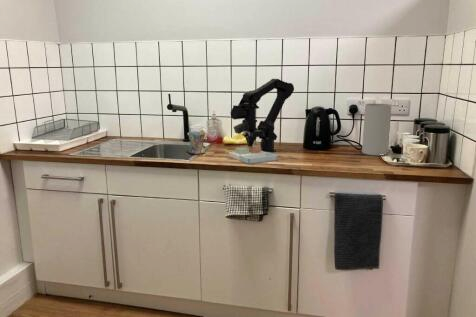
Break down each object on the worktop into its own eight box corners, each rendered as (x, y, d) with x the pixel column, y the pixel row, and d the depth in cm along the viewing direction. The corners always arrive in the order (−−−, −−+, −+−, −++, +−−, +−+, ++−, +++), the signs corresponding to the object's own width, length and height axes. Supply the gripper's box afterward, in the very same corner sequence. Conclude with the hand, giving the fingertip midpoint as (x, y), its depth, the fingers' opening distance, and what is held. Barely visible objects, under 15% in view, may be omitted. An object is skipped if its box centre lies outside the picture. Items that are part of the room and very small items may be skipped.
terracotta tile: (256, 150, 205) (256, 145, 204) (261, 152, 200) (261, 147, 200) (247, 151, 202) (247, 146, 202) (252, 153, 198) (252, 148, 198)
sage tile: (244, 151, 201) (244, 146, 201) (248, 153, 197) (248, 148, 197) (235, 152, 199) (235, 147, 199) (240, 154, 195) (240, 149, 194)
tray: (267, 156, 199) (267, 151, 199) (277, 160, 191) (277, 155, 191) (239, 160, 192) (239, 155, 191) (248, 164, 184) (248, 159, 184)
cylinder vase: (376, 157, 198) (380, 106, 192) (356, 152, 208) (359, 104, 202) (392, 154, 204) (396, 105, 198) (372, 149, 214) (376, 103, 209)
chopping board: (256, 152, 209) (256, 148, 208) (267, 156, 199) (267, 152, 199) (229, 155, 201) (229, 152, 201) (239, 160, 192) (239, 156, 191)
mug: (191, 150, 213) (190, 131, 211) (208, 151, 212) (207, 131, 209) (183, 155, 202) (183, 135, 200) (201, 156, 200) (200, 135, 198)
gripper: (227, 116, 206) (227, 146, 209) (244, 121, 190) (244, 153, 193) (246, 115, 211) (246, 144, 214) (264, 119, 195) (264, 150, 198)
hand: (249, 148), depth 205 cm, fingers closed
